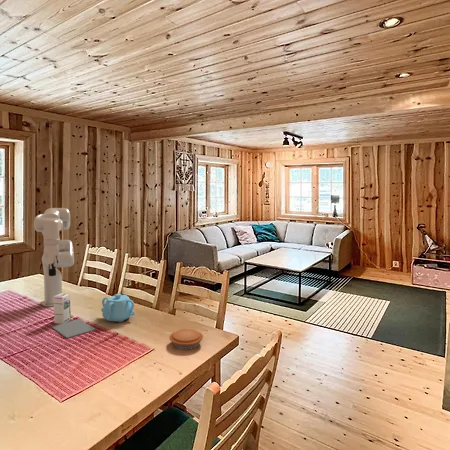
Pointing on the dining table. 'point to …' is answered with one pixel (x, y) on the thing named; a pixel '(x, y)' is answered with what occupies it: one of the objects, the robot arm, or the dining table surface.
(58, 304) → the syrup box
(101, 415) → the dining table surface
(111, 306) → the decorative pot
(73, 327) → the mat
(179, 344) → the pie
